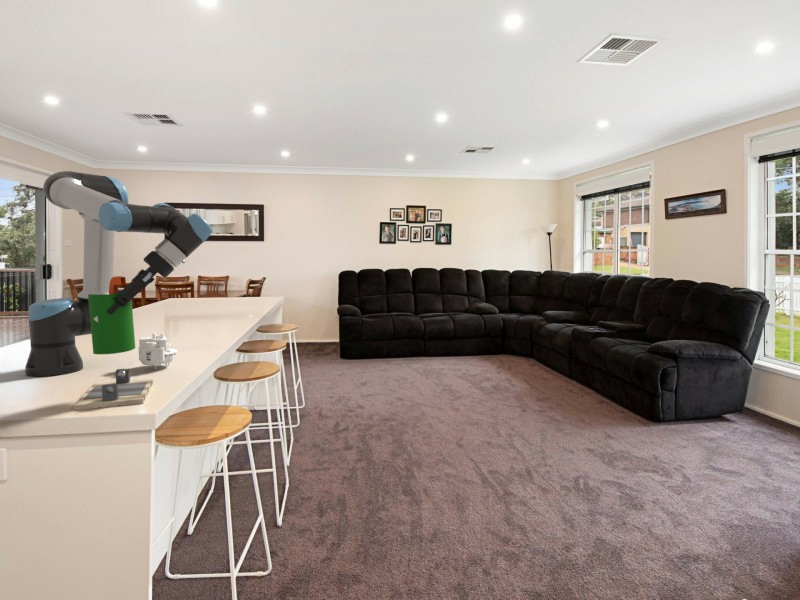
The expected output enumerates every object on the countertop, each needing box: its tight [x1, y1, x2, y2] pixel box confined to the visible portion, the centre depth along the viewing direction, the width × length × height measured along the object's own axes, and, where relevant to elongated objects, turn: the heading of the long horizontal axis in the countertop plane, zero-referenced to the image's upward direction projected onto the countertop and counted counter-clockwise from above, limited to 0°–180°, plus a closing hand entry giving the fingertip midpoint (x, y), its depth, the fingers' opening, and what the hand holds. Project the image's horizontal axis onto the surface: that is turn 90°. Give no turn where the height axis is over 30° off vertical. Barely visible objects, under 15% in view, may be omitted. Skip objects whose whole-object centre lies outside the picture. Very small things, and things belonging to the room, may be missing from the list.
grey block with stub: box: [115, 368, 131, 384], centre depth 133 cm, size 3×3×4 cm
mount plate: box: [73, 378, 154, 411], centre depth 126 cm, size 21×15×1 cm
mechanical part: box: [138, 332, 179, 370], centre depth 156 cm, size 11×12×12 cm
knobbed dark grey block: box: [102, 383, 119, 401], centre depth 118 cm, size 3×3×4 cm
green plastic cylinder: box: [88, 275, 136, 355], centre depth 123 cm, size 10×9×20 cm
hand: (98, 320), depth 122 cm, fingers closed on green plastic cylinder, 7 cm apart
